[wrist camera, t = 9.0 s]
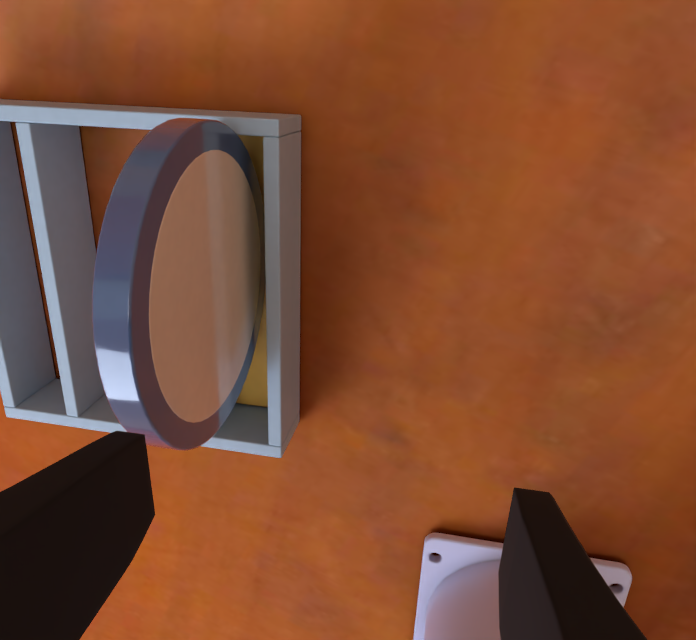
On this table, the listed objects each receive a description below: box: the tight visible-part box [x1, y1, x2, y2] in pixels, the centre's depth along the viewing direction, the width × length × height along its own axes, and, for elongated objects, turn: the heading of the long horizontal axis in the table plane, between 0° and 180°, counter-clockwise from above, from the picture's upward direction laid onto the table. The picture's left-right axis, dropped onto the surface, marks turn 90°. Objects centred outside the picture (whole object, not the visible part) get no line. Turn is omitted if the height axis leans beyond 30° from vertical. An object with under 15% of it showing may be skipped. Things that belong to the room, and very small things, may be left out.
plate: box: [92, 118, 266, 450], centre depth 16 cm, size 9×1×9 cm, turn 177°
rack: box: [0, 99, 301, 458], centre depth 21 cm, size 12×11×2 cm
